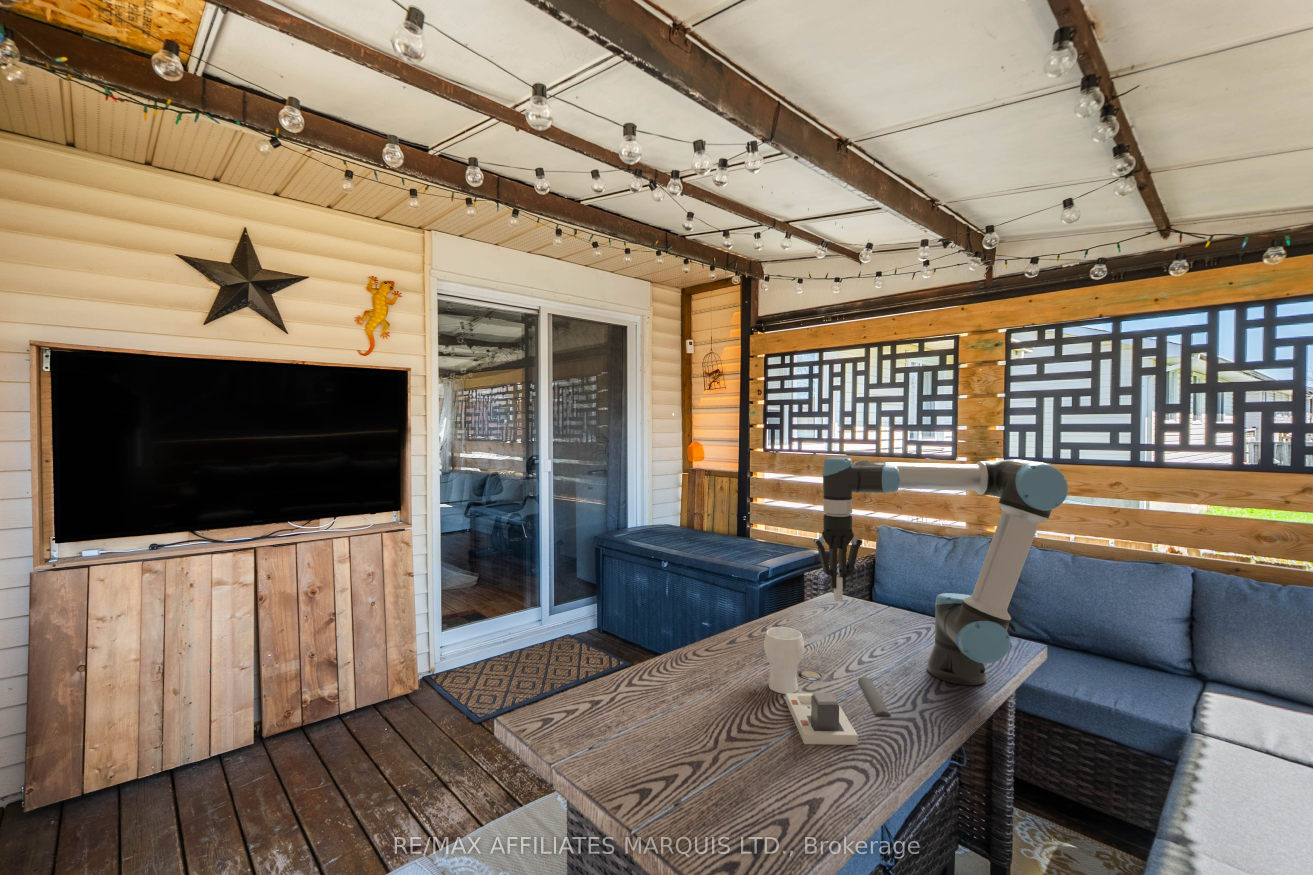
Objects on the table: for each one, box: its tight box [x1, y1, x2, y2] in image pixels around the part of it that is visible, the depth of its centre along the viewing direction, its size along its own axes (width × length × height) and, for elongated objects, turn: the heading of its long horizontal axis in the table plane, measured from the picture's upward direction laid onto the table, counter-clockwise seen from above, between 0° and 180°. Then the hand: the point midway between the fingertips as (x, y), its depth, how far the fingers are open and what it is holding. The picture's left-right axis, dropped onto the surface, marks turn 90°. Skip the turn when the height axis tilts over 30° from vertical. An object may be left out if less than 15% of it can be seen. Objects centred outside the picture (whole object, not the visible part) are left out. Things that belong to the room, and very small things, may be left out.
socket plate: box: [785, 692, 859, 746], centre depth 143 cm, size 12×20×2 cm, turn 179°
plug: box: [811, 692, 840, 731], centre depth 138 cm, size 5×5×8 cm
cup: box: [763, 626, 805, 695], centre depth 160 cm, size 11×11×15 cm
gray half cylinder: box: [857, 676, 892, 717], centre depth 155 cm, size 4×20×2 cm, turn 174°
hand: (838, 599), depth 161 cm, fingers closed
